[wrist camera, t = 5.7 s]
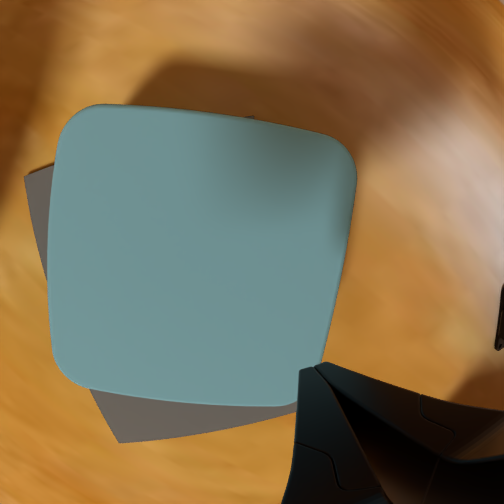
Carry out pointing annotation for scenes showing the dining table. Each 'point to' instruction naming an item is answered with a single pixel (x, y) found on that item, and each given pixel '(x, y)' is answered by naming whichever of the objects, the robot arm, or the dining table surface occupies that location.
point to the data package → (194, 253)
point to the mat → (136, 408)
